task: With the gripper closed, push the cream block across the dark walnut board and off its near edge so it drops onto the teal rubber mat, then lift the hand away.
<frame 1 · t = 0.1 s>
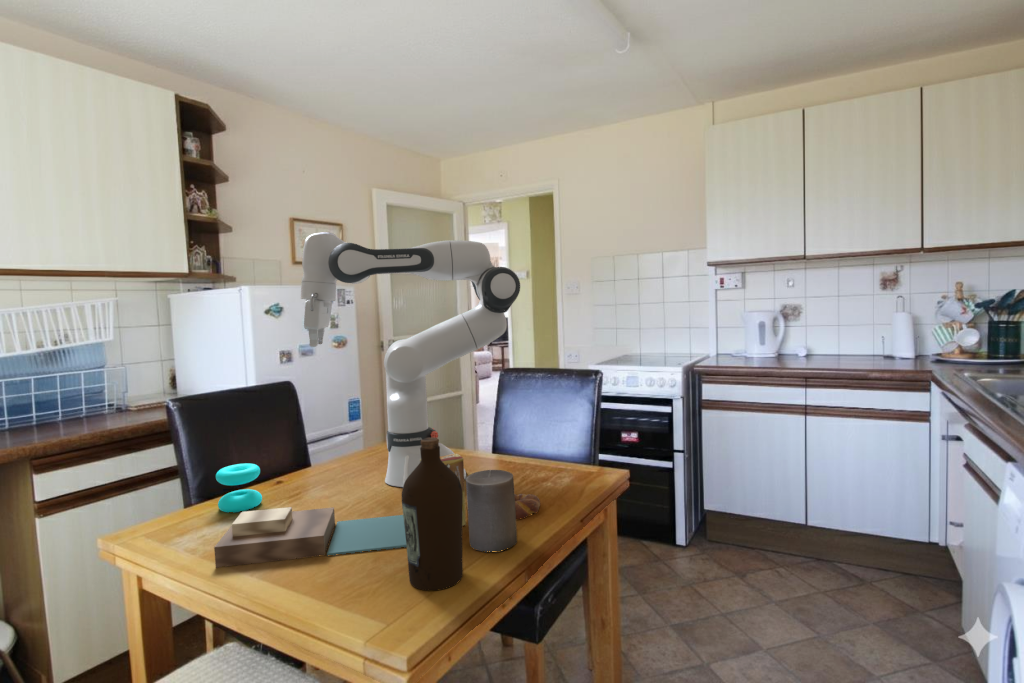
hand: (316, 345, 152), 39 cm above the table, tool pointing down, fingers open, 8 cm apart
candy box: (444, 527, 124), on the table
teal mat: (371, 534, 121), on the table
olive oil: (435, 579, 101), on the table
pretzel: (516, 512, 132), on the table
cream block: (263, 527, 117), point 4 cm above the table, touching walnut board
walnut board: (280, 544, 118), on the table
pillar candle: (492, 543, 115), on the table
donuts: (240, 507, 142), on the table
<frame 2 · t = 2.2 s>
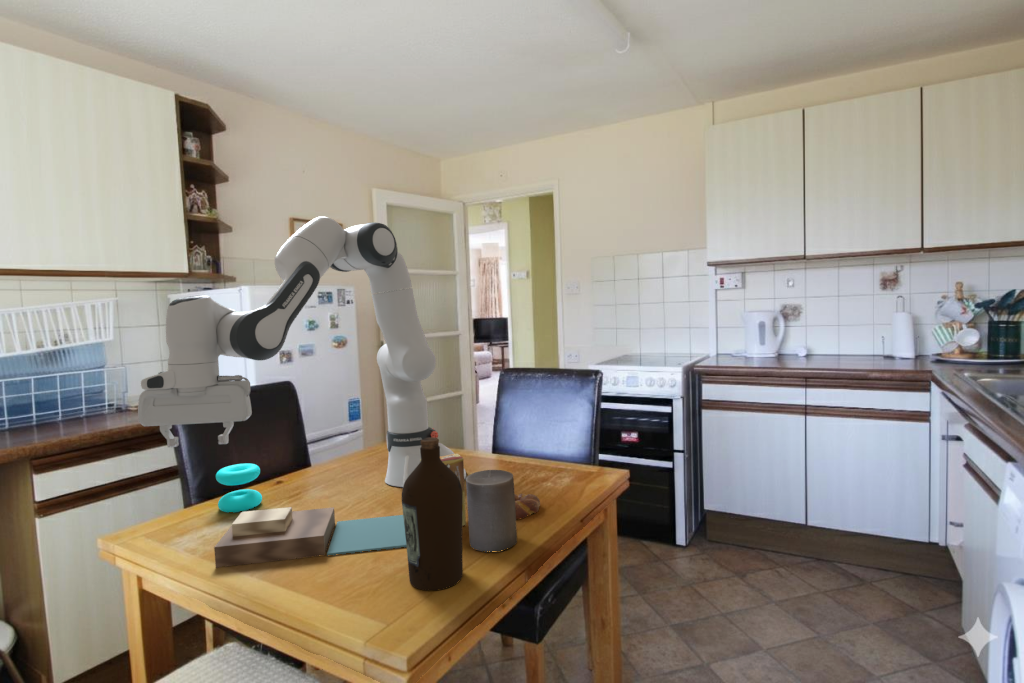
hand: (198, 445, 114), 22 cm above the table, tool pointing down, fingers open, 8 cm apart
nothing on the table moved.
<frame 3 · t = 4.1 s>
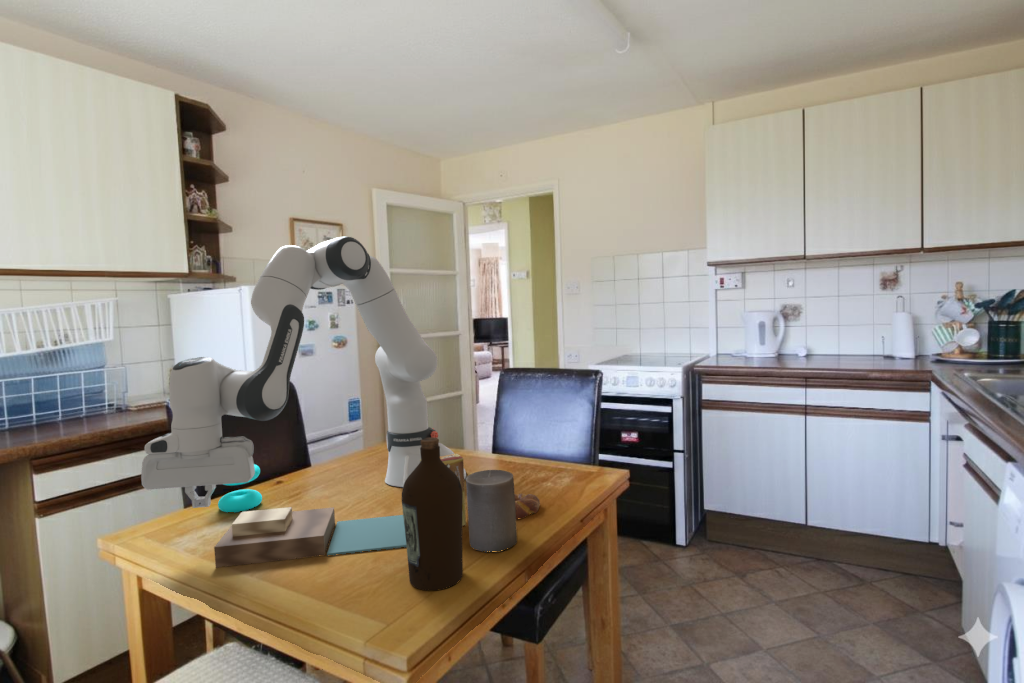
hand: (201, 506, 115), 10 cm above the table, tool pointing down, fingers closed
nothing on the table moved.
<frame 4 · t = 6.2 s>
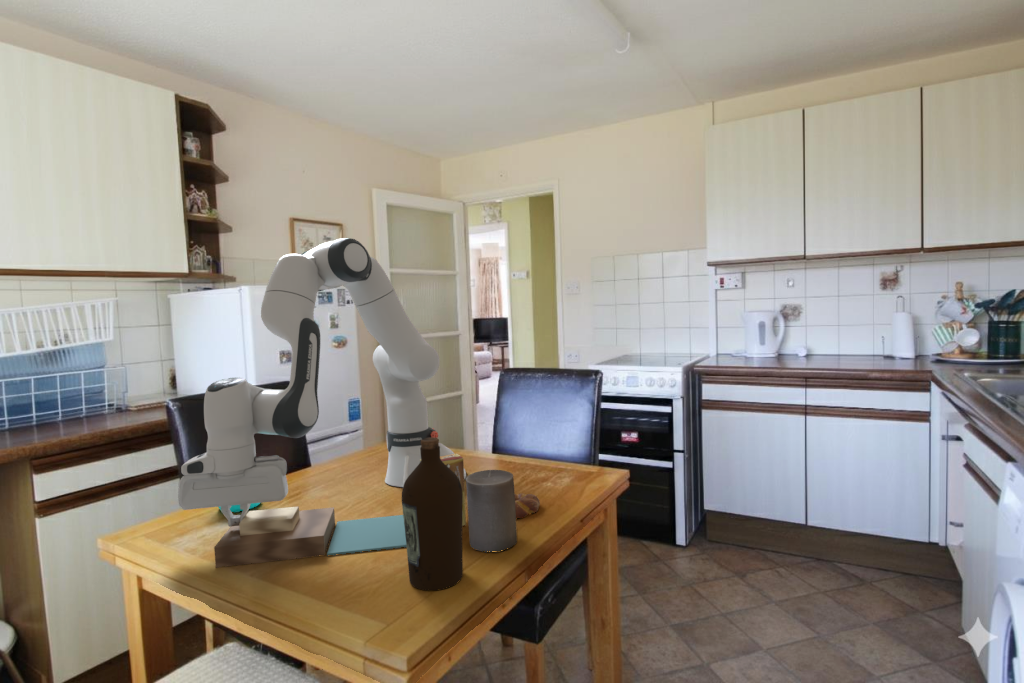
hand: (237, 525, 116), 5 cm above the table, tool pointing down, fingers closed
cream block: (270, 526, 117), point 4 cm above the table, touching walnut board
everything else where it was.
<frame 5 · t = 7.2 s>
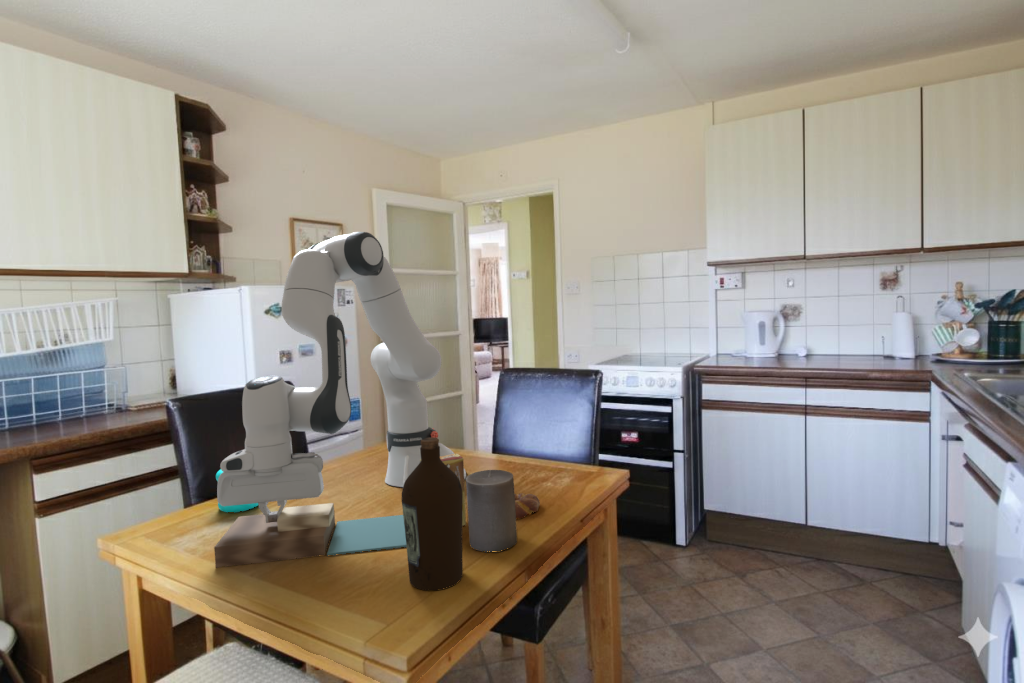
hand: (274, 521, 118), 5 cm above the table, tool pointing down, fingers closed
cream block: (307, 522, 119), point 4 cm above the table, touching gripper
everything else where it was.
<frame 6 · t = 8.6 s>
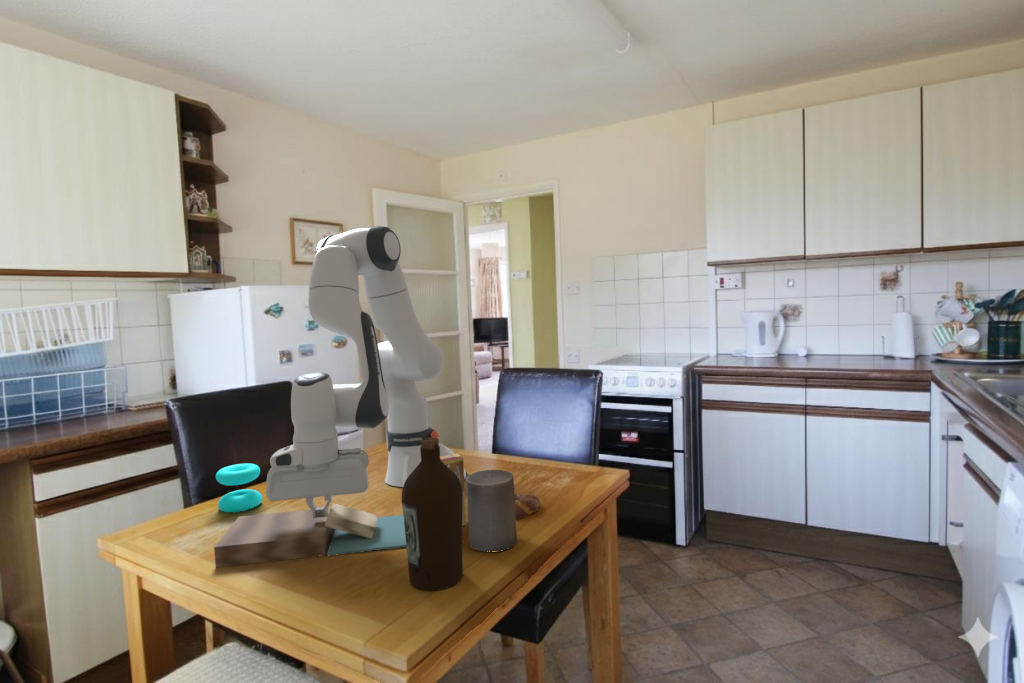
hand: (320, 516, 119), 5 cm above the table, tool pointing down, fingers closed
cream block: (350, 526, 120), point 2 cm above the table, tilted 22°, touching gripper
everything else where it was.
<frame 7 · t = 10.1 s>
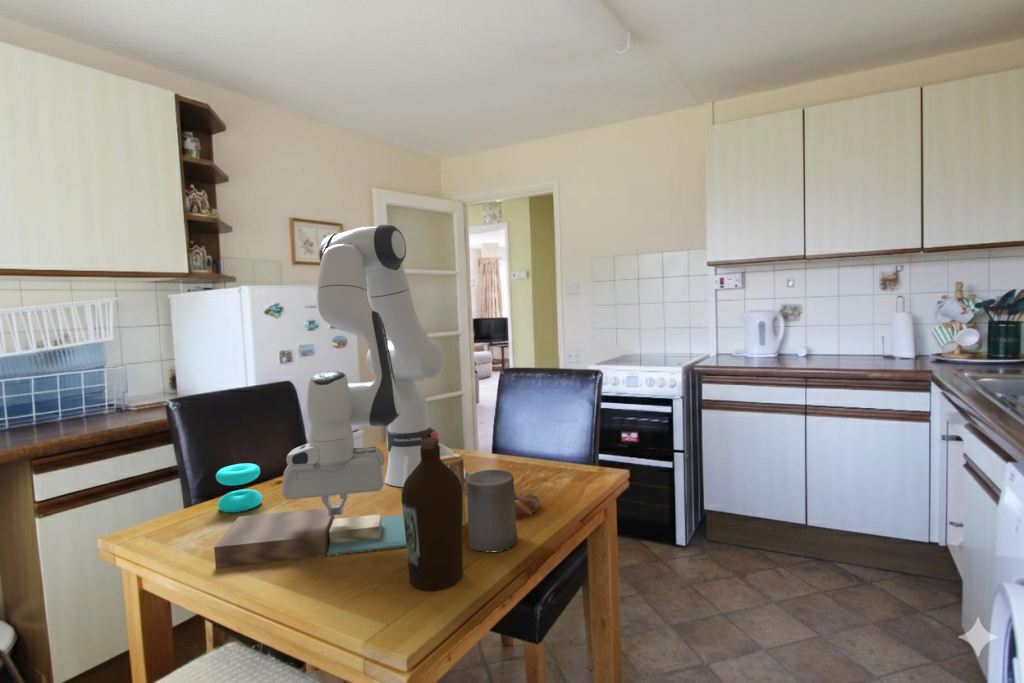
hand: (336, 514, 120), 5 cm above the table, tool pointing down, fingers closed
cream block: (356, 534, 120), resting on teal mat
everything else where it was.
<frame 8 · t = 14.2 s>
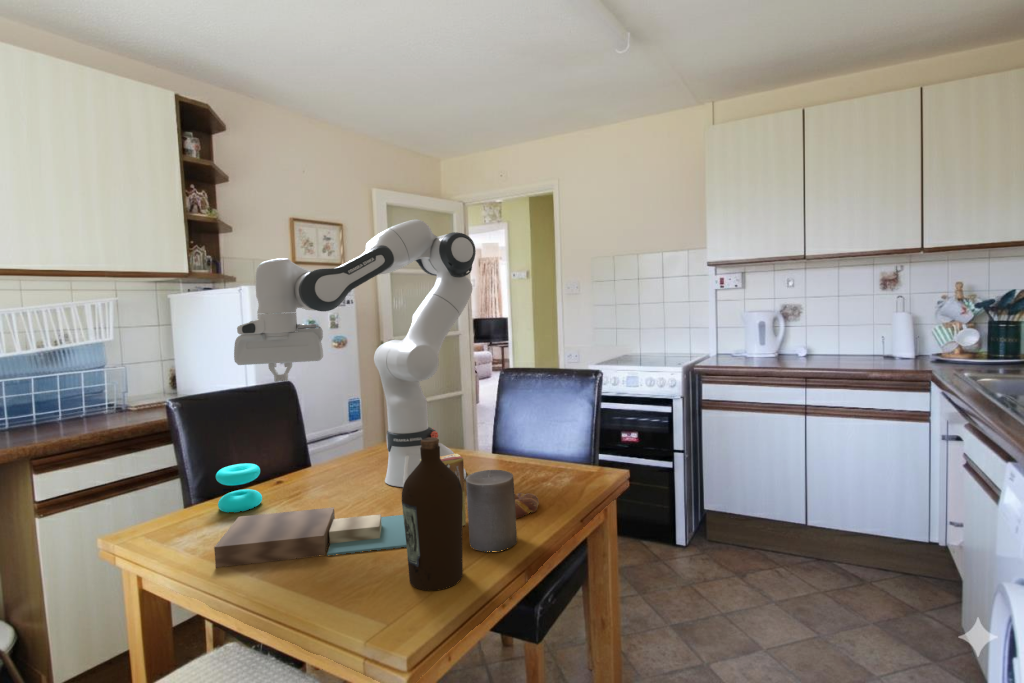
hand: (281, 381, 140), 31 cm above the table, tool pointing down, fingers closed
nothing on the table moved.
at the end: cream block inside the target area (2.9 cm from its centre), point 0.5 cm above the table; cream block touching teal mat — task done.
